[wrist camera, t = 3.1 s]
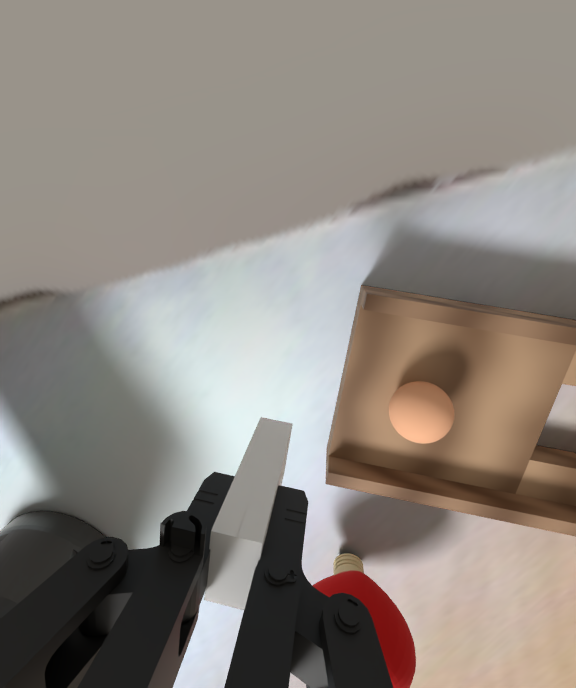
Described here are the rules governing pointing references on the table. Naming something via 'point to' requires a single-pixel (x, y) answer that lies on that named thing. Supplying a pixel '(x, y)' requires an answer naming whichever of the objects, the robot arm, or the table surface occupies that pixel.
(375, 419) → the lane
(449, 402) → the ball
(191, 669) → the table surface
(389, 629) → the red heart-shaped lump
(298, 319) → the table surface
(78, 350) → the table surface
